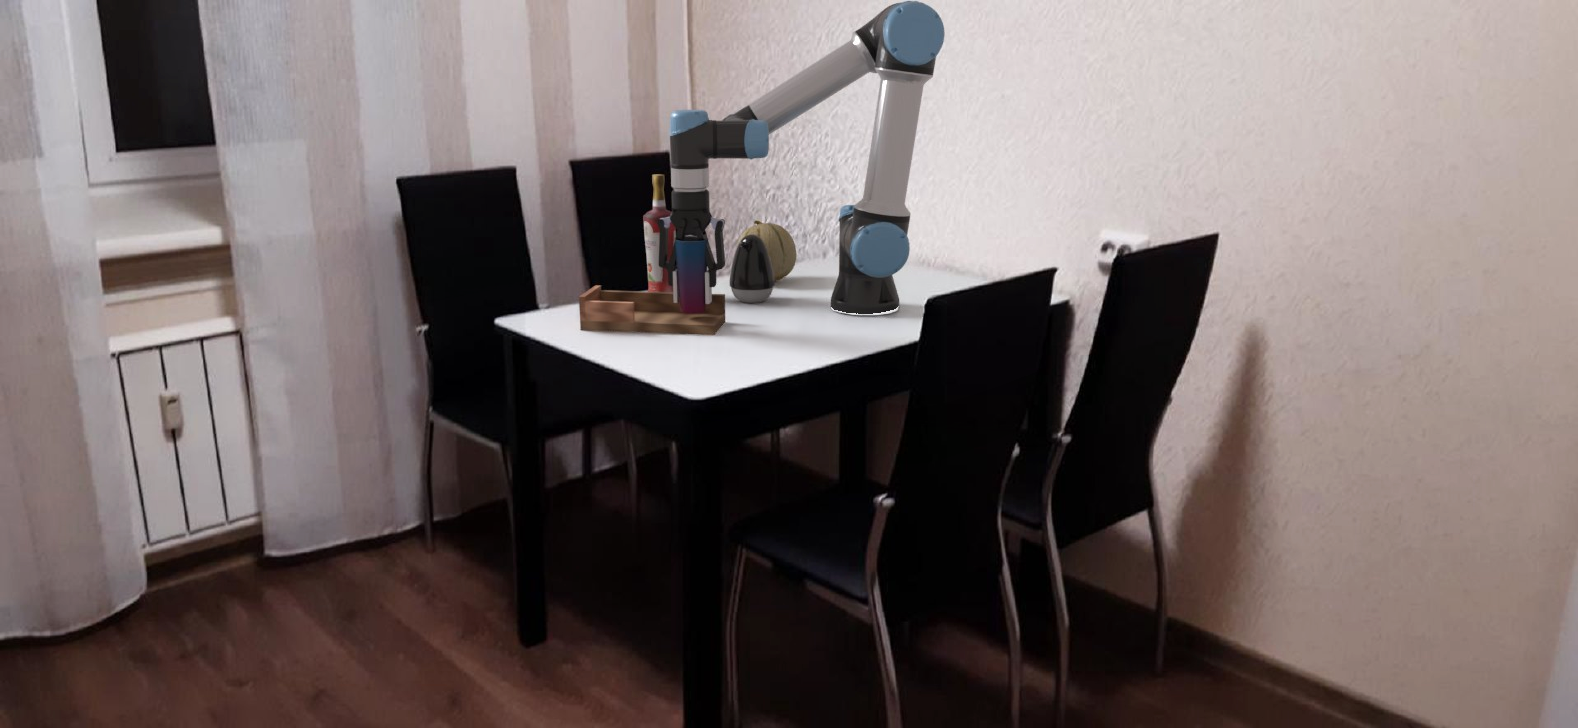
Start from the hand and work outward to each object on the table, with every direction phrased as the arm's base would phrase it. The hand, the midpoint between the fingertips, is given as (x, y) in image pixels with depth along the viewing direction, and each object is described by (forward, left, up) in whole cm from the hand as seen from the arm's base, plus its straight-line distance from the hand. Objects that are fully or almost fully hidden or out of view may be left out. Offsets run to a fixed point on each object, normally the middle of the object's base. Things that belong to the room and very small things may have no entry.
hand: (692, 301), depth 237 cm
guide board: (+8, 0, -5) cm, 10 cm away
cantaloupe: (-8, -46, -6) cm, 47 cm away
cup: (0, 0, -2) cm, 2 cm away
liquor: (+13, -26, -6) cm, 30 cm away
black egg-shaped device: (-8, -26, -6) cm, 28 cm away
